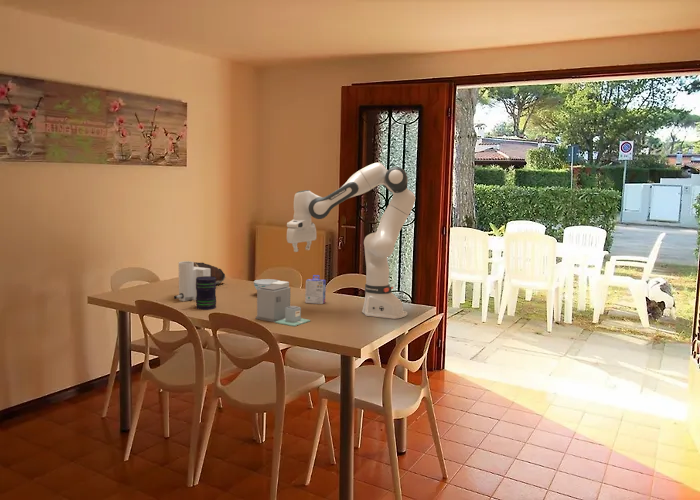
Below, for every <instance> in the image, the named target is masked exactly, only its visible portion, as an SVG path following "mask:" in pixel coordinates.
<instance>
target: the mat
mask: <svg viewBox="0 0 700 500" xmlns="http://www.w3.org/2000/svg"><path fill="white" fill-rule="evenodd" d="M310 322H311V319H306V318H303V317H301V320H300V321H297V322H289V321H285V319H282V320H278V321H275V322H274V323H275V324H280V325H285V326H289V327H298V326H300V325H304V324H306V323H310ZM297 325H298V326H297Z"/></svg>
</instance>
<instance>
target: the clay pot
mask: <svg viewBox="0 0 700 500" xmlns="http://www.w3.org/2000/svg"><path fill="white" fill-rule="evenodd" d="M193 262H194V267H201V268H210V276H211V277H216V285H217V284H221V283H222V282H224V281H225V279H226V275H225V273H224V271H223V270H222V269H221V268H219V267H217V266H214V265H211V264H208V263H205V262H195V261H193Z"/></svg>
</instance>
